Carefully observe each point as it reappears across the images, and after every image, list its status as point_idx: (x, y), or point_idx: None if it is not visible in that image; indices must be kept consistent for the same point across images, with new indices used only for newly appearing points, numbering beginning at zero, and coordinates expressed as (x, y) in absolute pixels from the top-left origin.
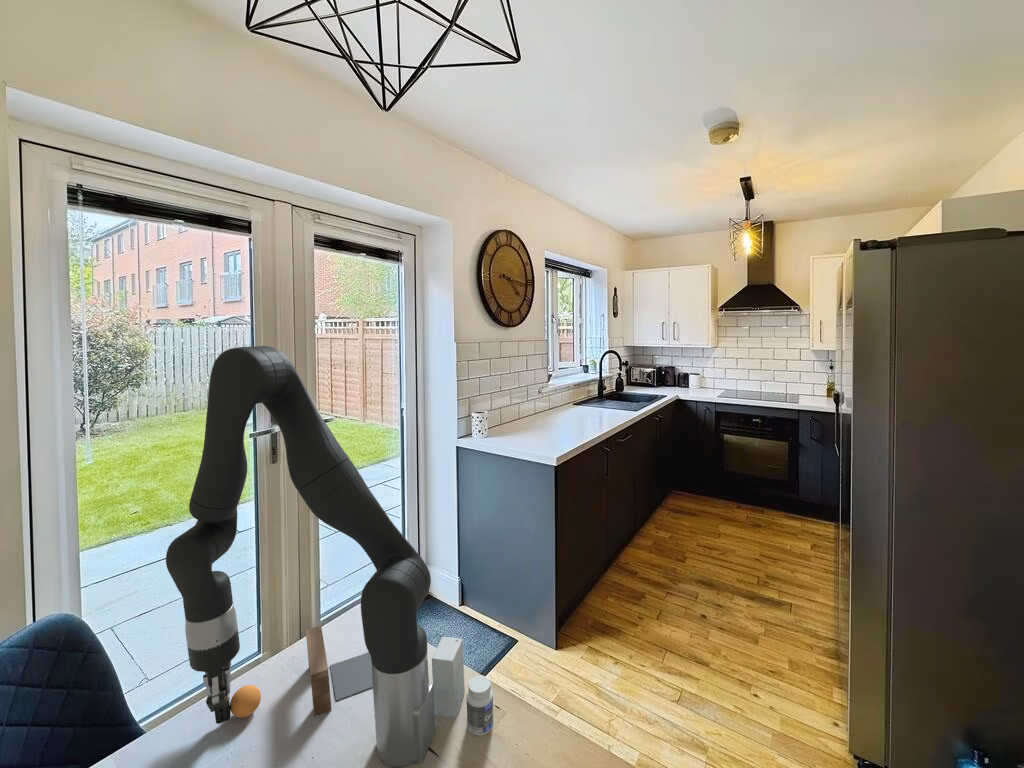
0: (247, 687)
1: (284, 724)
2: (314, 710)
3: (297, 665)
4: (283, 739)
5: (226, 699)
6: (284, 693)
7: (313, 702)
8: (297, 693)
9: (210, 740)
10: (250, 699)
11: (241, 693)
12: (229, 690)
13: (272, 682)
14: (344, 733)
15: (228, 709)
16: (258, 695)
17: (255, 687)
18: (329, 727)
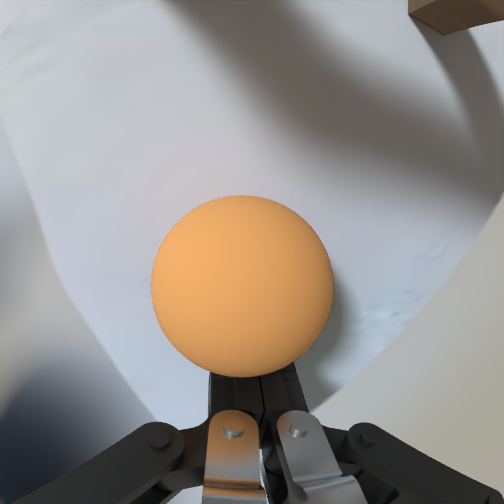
0: (242, 321)
1: (418, 127)
2: (462, 27)
3: (64, 5)
4: (467, 157)
5: (407, 467)
6: (221, 65)
7: (490, 21)
8: (270, 16)
9: None
10: (327, 286)
11: (275, 356)
12: (351, 480)
13: (92, 115)
14: None
15: (279, 374)
16: (295, 224)
17: (237, 248)
18: (491, 37)
